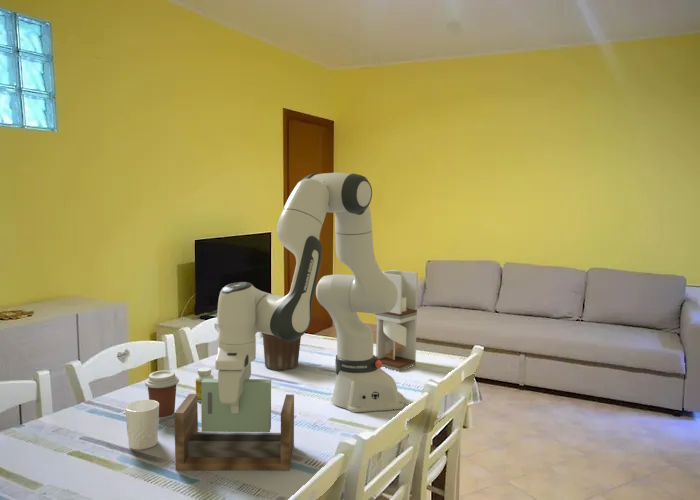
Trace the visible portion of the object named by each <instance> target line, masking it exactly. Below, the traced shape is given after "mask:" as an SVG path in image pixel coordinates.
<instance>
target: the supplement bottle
mask: <svg viewBox="0 0 700 500" xmlns="http://www.w3.org/2000/svg"><path fill="white" fill-rule="evenodd" d="M203 379H215V378H214V375H213V374H212V368H211V367H200V368H198V369H197V376H196V377H195V394H197V403H201V382H202V380H203Z"/></svg>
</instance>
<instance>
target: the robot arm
mask: <svg viewBox="0 0 700 500" xmlns="http://www.w3.org/2000/svg"><path fill="white" fill-rule="evenodd" d="M372 198H373V189H372V185H371V183H370V181H369V180H368V178H367V177H366V176H363V175H361V174H357V173H347V172H338V171H337V172H327V173H325V172H324V173H318V172H316V173H310V174H308V175H305V177H303V178H302V179H301V180H300V181H298V182H297V183H296V185H295V187H294V188H293V190H292V191H291V192H290V194H289V196H288V198H287V200H286V202H285V204H284V205H283V208H282V210H281V214H280V215H279V218H278V221H277V224H276V235H277V238H278V241H279V242H280V244H281V245H282V246H283V247H284V248H285V249H287V250H288V251H289V252H290V253H291V254H293V255H294V257H295V261H296V262H295V263H296V264H295V267H294V273H293V276H292V280H291V281H292V282H291V285H290V288H289V289H290V290H289V292H288V294H286V295H285V296H284V295H277V294H273V293H269V292H266V291H262V290H260V289H258V288H256V287H255V286H254V285H253V284H252V283H251V282H247V281H239V282H233V283H232V282H231V283H229V284H227V285H225V286H224V287H222V288H221V290H220V291H219V296H218V302H217V316H216V317H217V321H216V322H217V326H218V337H217V350H216V351H217V352H216V359H215V365H214V367H215V370H216V371H217V370H218V371H217V379H218V386H219V398H220V402H221V404H224V405H231V413H238V412H239V410H240V408H239V407H240V404H239V398H240V396H241V394H242V392H243V389H244V381H245V379H251V376H252V362H254V361H255V360H256V358H257V356H256V355H257V354H256V353H257V352H256V351H257V348H256V347H257V345H256V343H257V338H256V337H257V336H256V334H257V333H261V334H262V333H266V334H269V335H273V336H276V337H278V338H281V339H283V340H286V341H294V340H297V339H298V338H300V337H301V338H302V336H303V335H304V334H305V333H306V332H307V331H308V329H309V327H310V325H311V319H312V305H313V301H314V300H313V299H314V297H315V296H316V299H317V302H318V304H319V305H320V306H322V307H323V308H324V309H325V310H326V312H327V313H328V314H329V316H330V318H331V320H332V322H333V324H334V328H335V331H336V345H337V346H336V348H337V349H336V350H337V351H336V353H337V354H336V355H335V359H334V361H335V362H334V363H335V365H334V367H335V374H336V375H335V382H334V388H333V389H334V390H333V393H332V396H331V403H332V404H333V405H335V406H337V407H339V408H343V409H346V410H348V411H349V412H353V413H363V412H365V413H366V412H377V411H378V412H379V411H390V410H391V411H393V409H394V410H401V409H403V408H404V407H405V402H406V401H405V396H404V395H403V393H401V392H400V391H399V390H398V386H397V383H396V381H395V379H394V378H393V377H392V375H390V374H388V373H387V372H386V371H384V370H383V369H382V368H383V367H382V362H381V361H380V359H379V358H378V356H377V355H376V354H375V355H374V332H373V329H372V328H371V327H370V326H369V325H368V324H367V323H365V322H364V321H362V320H361V318H360V316H359V315H358V313H364V314H374V315H375V314H376V313H386V312H390V311H391V310H392V309H393V308H394V307H395V305H396V303H397V300H398V291H397V288H396V286H395V284H394V283H393V282H392V281H391V280H390V279H389V278H387V277H386V276H385V275H384V273H383V272H382V271H383V270H382V269H381V268H380V266H379V265H378V262H377V260H376V256H375V250H374V248H375V247H374V239H373V220H372V214H371V208H370V204H371V201H372ZM327 213H331V214H334V217H335V218H334V239H335V256H336V257H337V259H338V260H339V262H340V263H341V264H344V266H346V267H348V268H349V269H350V271H351V272H352V274H353V275H352V274H341V273H340V274H339V273H336V274H327V275H324V276H322V277H321V278H320V279H319V281H318V278H319V272H320V268H321V264H322V257H323V244H322V242H321V241H320V235H321V231H322V228H323V224H324V221H325V219H326V215H327ZM317 281H318V282H317ZM314 295H315V296H314Z"/></svg>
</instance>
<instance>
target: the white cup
mask: <svg viewBox="0 0 700 500" xmlns="http://www.w3.org/2000/svg"><path fill="white" fill-rule="evenodd" d="M125 418H126V419H125V420H126V431H127V437H128V438H127V439H128V446H129V448H130V449H132V450H138V451H140V450H146V449H150V448H153V447H154V446H156V445H157V443H158V442H159V441H158V440H159V439H158V438H159V437H158V436H159V433H158V432H159V423H160V422H159V421H160V420H159V403H158V402H157V401H154V400H149V399H141V400H136V401H133V402H130V403H128V404H127V405H126V406H125Z"/></svg>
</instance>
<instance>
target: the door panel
mask: <svg viewBox="0 0 700 500" xmlns="http://www.w3.org/2000/svg"><path fill="white" fill-rule="evenodd" d="M200 404H201V408H200V409H201V410H200V411H201V412H200V413H201V418H200V419H201V420H200V421H201V432H242V433H271V429H272V378H270V379H269V378H267V379H263V378H260V379H259V378H258V379H257V378H254V379H253V378H249V379H245V381H244V389H243V392H242V394H241V396H240V398H239V404H240V407H239V408H240V410H239V412H238V413H231V405H224V404H221V402H220V398H219V386H218V378H214V379H203V380H202V382H201V402H200Z"/></svg>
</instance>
